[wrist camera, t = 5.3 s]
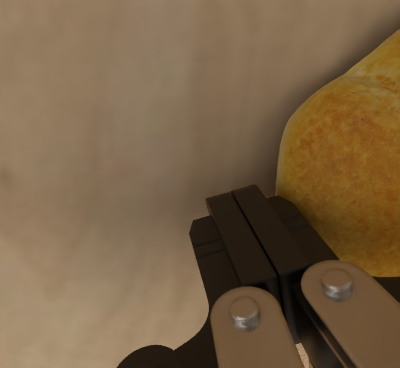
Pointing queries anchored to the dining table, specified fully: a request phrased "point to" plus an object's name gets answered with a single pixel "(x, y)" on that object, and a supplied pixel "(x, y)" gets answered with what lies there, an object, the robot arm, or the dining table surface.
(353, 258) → the bread roll
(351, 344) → the robot arm
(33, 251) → the dining table surface
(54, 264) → the dining table surface
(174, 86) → the dining table surface
